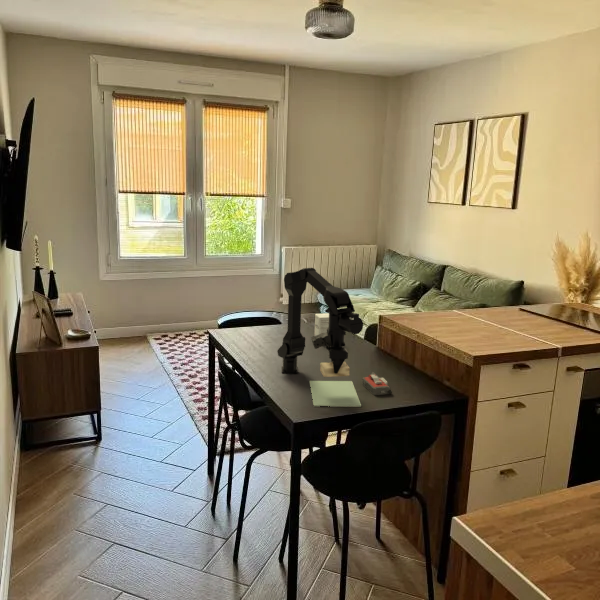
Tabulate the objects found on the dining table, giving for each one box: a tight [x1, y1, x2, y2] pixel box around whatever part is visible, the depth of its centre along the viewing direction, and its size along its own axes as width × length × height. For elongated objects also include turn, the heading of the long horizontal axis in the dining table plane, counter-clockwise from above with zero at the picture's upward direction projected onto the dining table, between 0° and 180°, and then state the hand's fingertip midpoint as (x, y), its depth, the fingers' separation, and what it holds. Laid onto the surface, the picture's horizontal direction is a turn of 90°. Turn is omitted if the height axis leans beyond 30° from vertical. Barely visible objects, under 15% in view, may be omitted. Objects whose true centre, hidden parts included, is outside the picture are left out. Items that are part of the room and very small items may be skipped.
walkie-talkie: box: [361, 371, 393, 396], centre depth 199 cm, size 9×4×20 cm
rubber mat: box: [308, 380, 362, 408], centre depth 190 cm, size 22×16×1 cm
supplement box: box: [314, 312, 329, 336], centre depth 250 cm, size 7×7×13 cm
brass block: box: [319, 361, 350, 378], centre depth 188 cm, size 9×6×3 cm, turn 100°
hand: (334, 370), depth 188 cm, fingers closed on brass block, 6 cm apart
